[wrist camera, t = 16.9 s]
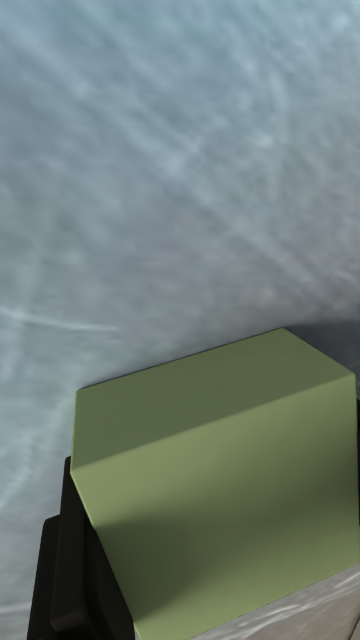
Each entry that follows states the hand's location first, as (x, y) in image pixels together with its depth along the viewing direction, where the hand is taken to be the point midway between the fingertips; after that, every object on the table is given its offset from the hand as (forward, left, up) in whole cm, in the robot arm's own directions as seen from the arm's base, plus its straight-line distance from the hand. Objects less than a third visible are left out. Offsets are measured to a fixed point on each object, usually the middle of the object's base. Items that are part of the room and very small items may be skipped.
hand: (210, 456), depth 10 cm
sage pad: (0, 0, -1) cm, 1 cm away
